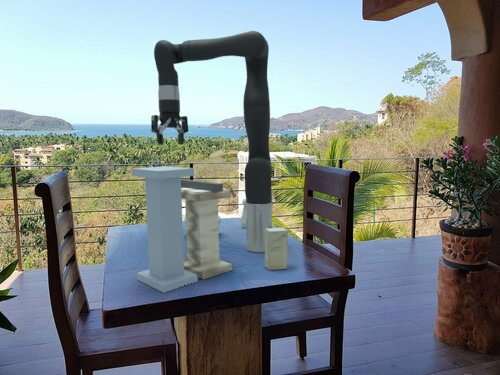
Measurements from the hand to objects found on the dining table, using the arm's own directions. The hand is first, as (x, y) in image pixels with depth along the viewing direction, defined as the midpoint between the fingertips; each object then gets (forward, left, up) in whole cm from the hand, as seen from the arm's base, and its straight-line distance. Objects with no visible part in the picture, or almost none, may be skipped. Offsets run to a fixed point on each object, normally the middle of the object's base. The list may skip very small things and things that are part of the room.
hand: (170, 144), depth 142 cm
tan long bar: (-12, +25, -13) cm, 30 cm away
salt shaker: (-27, -29, -38) cm, 55 cm away
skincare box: (-37, +26, -38) cm, 59 cm away
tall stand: (-5, +37, -38) cm, 53 cm away
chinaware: (-9, -13, -38) cm, 41 cm away
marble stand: (-15, +27, -38) cm, 49 cm away
